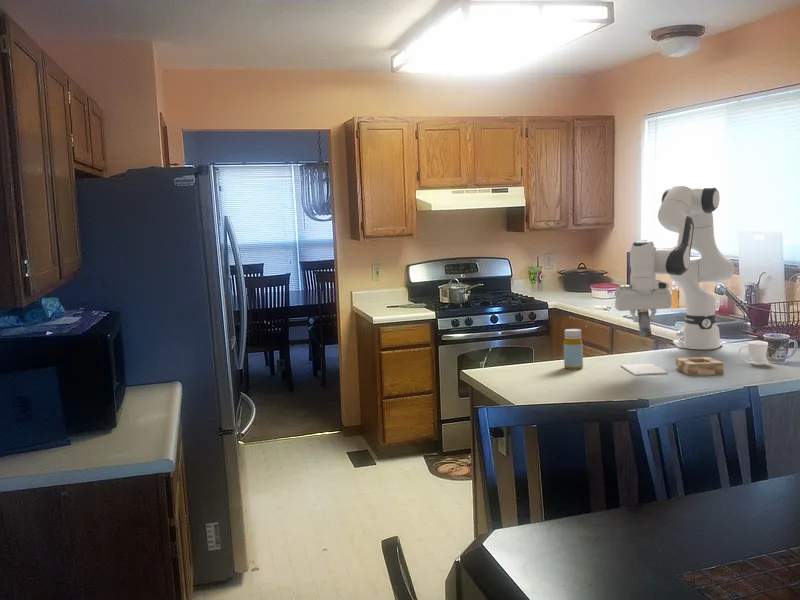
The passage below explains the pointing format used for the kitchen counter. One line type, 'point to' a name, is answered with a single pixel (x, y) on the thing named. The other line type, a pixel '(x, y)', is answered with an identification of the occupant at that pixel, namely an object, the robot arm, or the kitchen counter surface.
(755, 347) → the cup
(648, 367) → the mat
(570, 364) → the bottle
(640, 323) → the peg
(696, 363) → the block
